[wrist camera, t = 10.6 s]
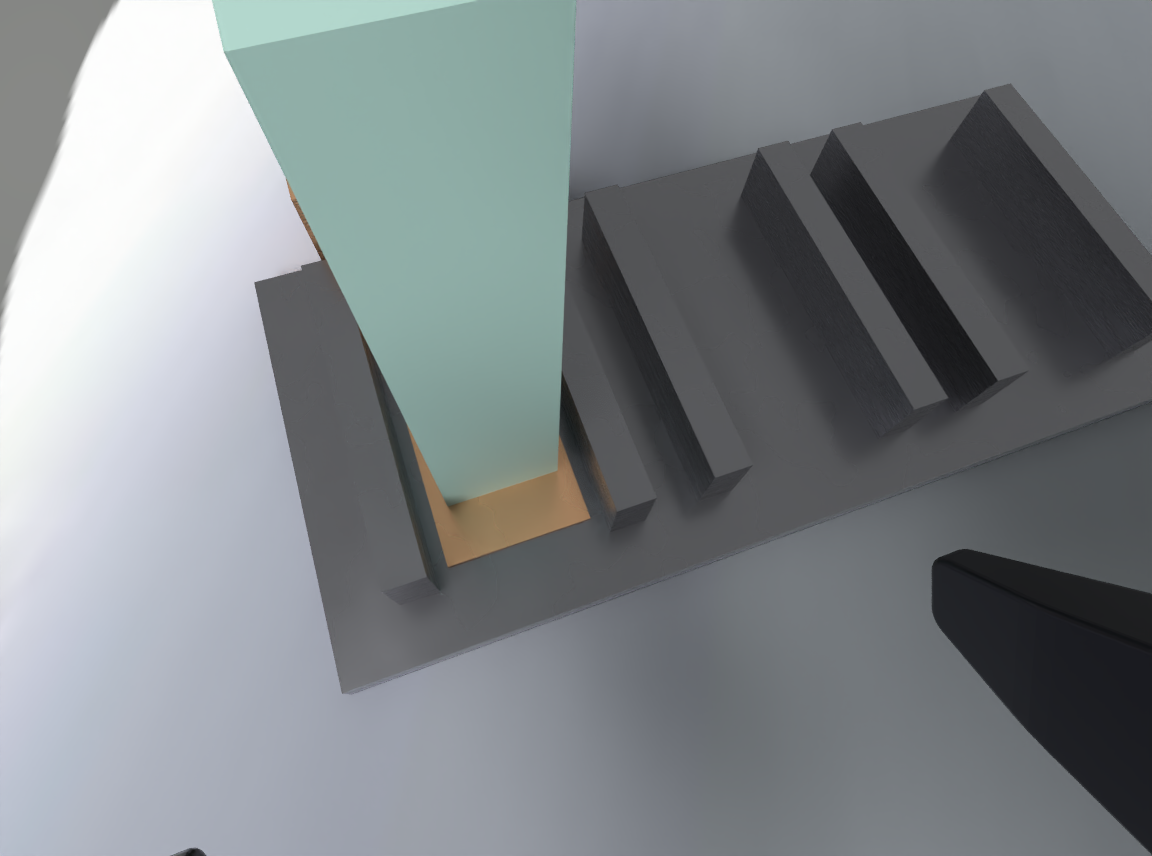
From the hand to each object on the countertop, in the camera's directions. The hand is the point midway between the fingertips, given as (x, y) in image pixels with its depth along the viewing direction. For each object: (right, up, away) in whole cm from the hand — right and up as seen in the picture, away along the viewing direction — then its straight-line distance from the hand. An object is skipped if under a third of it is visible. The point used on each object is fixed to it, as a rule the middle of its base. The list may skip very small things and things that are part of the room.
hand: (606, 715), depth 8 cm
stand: (+4, +6, +13) cm, 15 cm away
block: (-3, +4, +11) cm, 12 cm away
